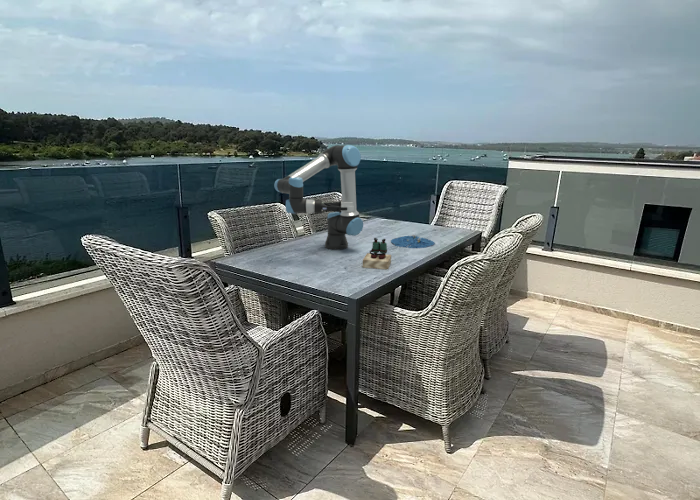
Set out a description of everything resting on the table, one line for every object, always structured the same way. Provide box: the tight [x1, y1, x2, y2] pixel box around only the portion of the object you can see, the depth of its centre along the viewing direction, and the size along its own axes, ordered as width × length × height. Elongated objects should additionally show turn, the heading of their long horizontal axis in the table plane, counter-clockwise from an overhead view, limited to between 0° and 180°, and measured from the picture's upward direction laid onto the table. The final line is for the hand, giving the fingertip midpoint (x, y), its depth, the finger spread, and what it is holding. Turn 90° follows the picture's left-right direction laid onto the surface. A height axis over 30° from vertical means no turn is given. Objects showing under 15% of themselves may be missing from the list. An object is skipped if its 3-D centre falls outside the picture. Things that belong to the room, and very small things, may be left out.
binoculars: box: [369, 237, 388, 259], centre depth 208 cm, size 9×11×10 cm
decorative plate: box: [390, 234, 435, 249], centre depth 260 cm, size 30×30×5 cm
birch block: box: [362, 252, 392, 270], centre depth 211 cm, size 14×14×5 cm
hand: (353, 206), depth 207 cm, fingers open, 13 cm apart
